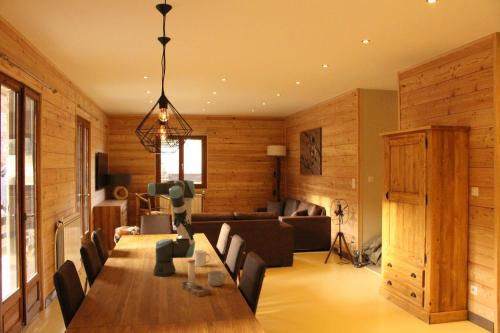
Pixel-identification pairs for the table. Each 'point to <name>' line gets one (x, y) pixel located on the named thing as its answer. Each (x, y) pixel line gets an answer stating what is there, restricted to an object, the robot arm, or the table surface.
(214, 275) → the teacup
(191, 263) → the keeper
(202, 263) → the mug
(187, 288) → the track
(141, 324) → the table surface
